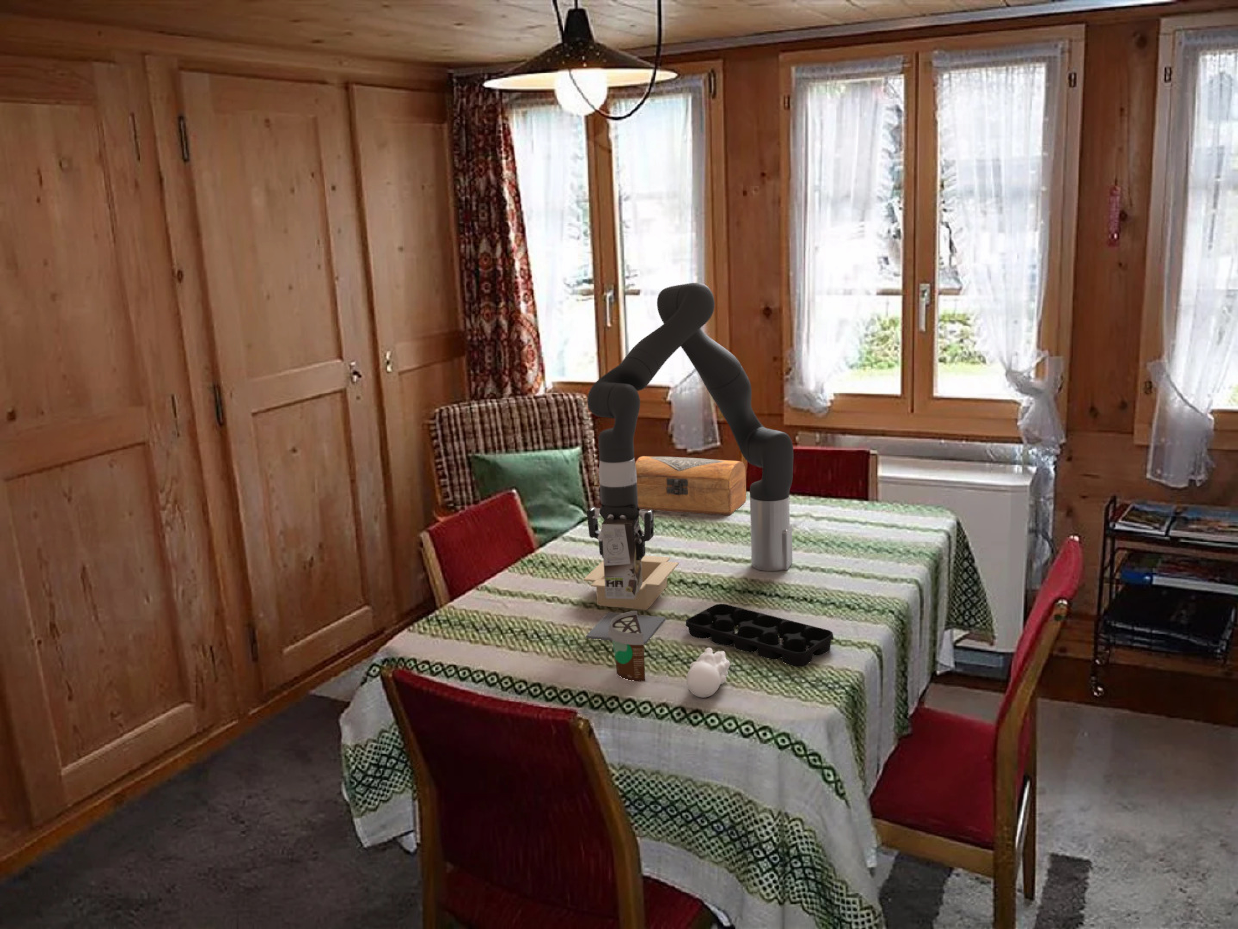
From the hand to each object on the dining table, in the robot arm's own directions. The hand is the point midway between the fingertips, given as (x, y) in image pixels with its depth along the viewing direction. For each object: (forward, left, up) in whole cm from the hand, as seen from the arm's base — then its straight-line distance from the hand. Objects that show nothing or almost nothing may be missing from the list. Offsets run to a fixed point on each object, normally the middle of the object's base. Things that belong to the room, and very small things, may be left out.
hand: (622, 558), depth 222 cm
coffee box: (0, 0, -7) cm, 7 cm away
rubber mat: (0, 0, -16) cm, 16 cm away
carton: (+5, -18, -16) cm, 25 cm away
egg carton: (-28, 0, -16) cm, 32 cm away
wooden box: (+13, -90, -16) cm, 92 cm away
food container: (-7, +20, -16) cm, 26 cm away
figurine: (-24, +23, -16) cm, 37 cm away
